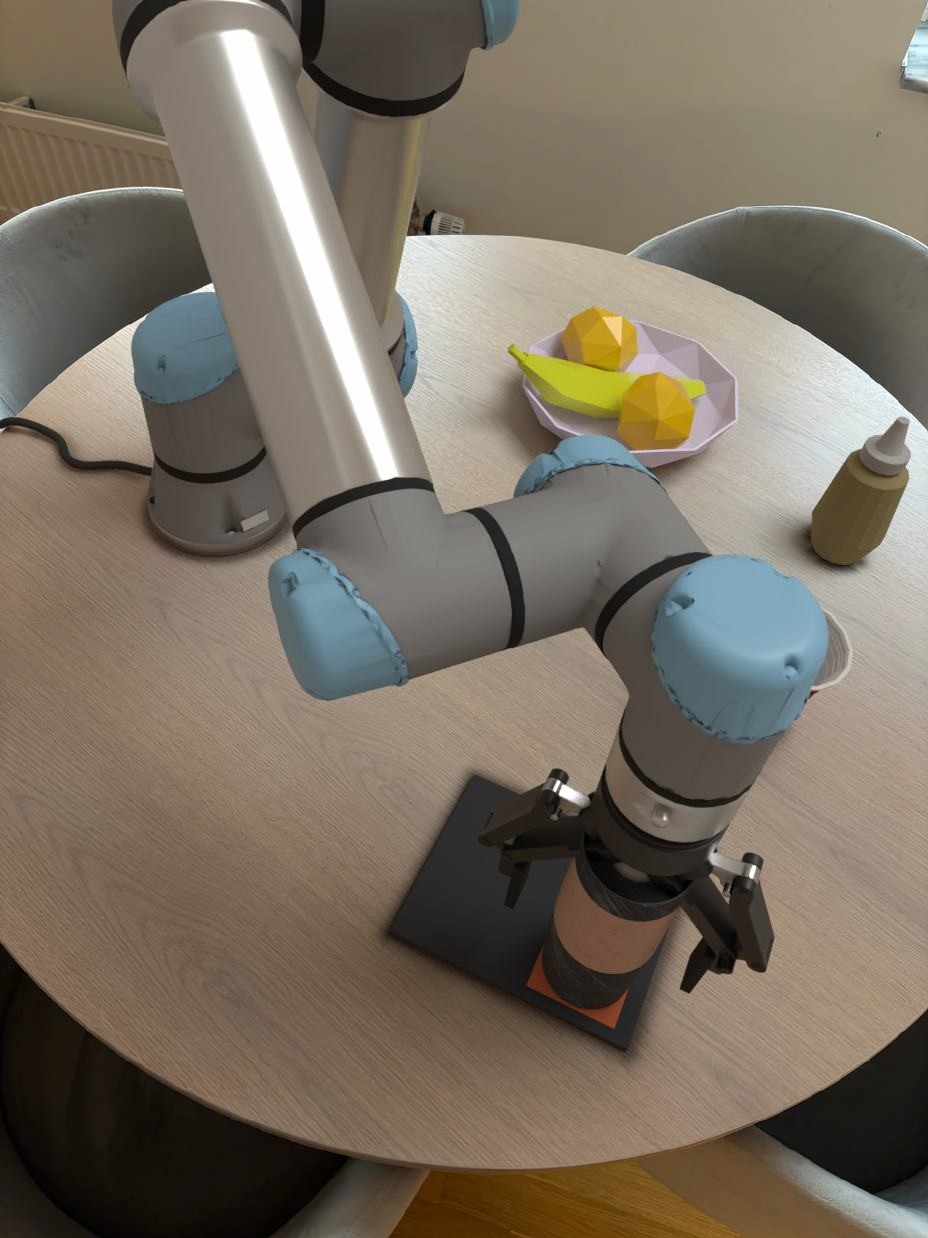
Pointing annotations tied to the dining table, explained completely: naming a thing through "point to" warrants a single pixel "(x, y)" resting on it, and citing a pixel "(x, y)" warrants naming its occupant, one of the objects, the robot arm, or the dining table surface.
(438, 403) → the dining table surface
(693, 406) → the fruit bowl
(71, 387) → the dining table surface
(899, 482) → the squeeze bottle
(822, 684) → the plastic cup
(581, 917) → the travel mug
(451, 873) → the mat
